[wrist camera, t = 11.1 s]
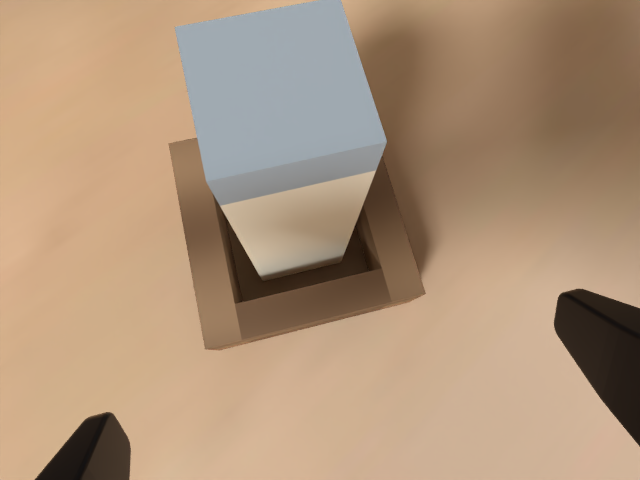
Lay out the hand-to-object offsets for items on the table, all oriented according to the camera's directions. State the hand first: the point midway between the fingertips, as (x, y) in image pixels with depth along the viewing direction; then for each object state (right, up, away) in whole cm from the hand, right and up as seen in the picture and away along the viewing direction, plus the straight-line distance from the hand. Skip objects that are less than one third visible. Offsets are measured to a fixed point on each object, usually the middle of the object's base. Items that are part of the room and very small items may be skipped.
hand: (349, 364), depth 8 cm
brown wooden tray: (-2, +3, +13) cm, 14 cm away
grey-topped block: (-2, +3, +13) cm, 14 cm away
